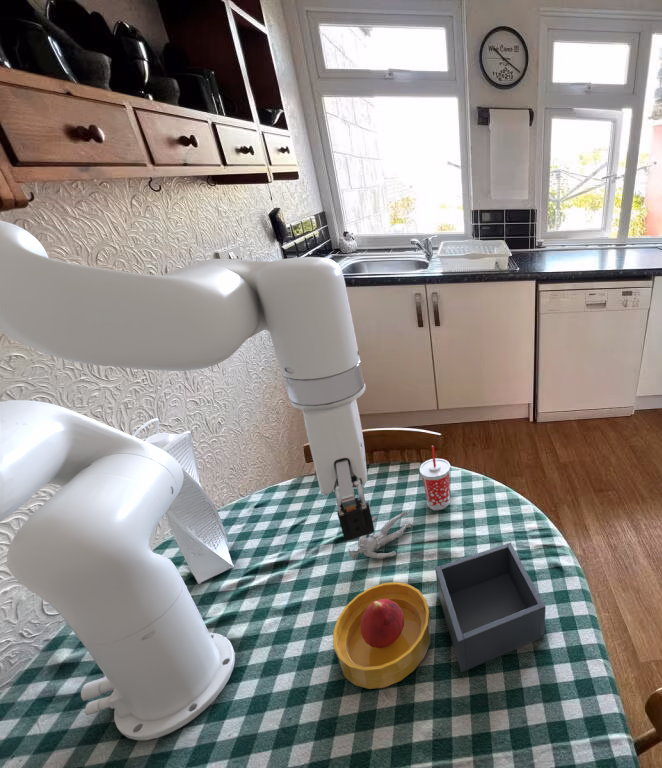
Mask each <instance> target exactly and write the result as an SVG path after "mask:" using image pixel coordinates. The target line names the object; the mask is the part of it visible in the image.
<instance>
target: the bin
mask: <svg viewBox="0 0 662 768" xmlns="http://www.w3.org/2000/svg"><path fill="white" fill-rule="evenodd" d="M434 569H435V577H436V585H437V593H438V599H439V602H440V606H441V609H442V612H443V616H444V619H445V623H446V626H447V631H448V634H449V636H450V640H451V643H452V647H453V650H454V654H455V657H456V660H457V661H456V662H457V664H458V668H459V671H460V673H464V672H466V671H469V670H471V669H473V668H475V667H478V666H480V665H483V664H485V663H488V662H489V661H492V660H495V659H496V658H499V657H501V656H503V655H506V654H508V653H510V652H513V651H515V650H517V649H520V648H522V647H524V646H526V645H529V644H532V643H534V642H536V641H538V640H541V639H542V638H545V629H546V627H545V626H546V625H545V624H546V605H545V603H544V601H543V599H542V597H541V596H540V594H539V592H538V590H537V588H536V586H535V584H534V583H533V581H532V579H531V577H530V575H529V574H528V572H527V570H526V568H525V567H524V565H523V563H522V561H521V558H520V557H519V555H518V553H517V551H516V550H515V548H514V546H513V544H512V542H508V543H505V544H502V545H498V546H496V547H493V548H489V549H487V550H482V551H480V552H477V553H474V554H471V555H468V556H465V557H462V558H459V559H456V560H453V561H450V562H448V563H444V564H442V565H438V566H436V567H435V568H434Z"/></svg>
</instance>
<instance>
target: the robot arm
mask: <svg viewBox="0 0 662 768" xmlns="http://www.w3.org/2000/svg"><path fill="white" fill-rule="evenodd" d="M263 331H267V332H268V333H269V336H270V339H271V343H272V346H273V349H274V353H275V356H276V359H277V363H278V367H279V370H280V373H281V376H282V381H283V383H284V388H285V390H286V394H287V398H288V400H289V404H290V405H291V406H292V407H293V408H295V409H297V410H302V416H303V421H304V427H305V431H306V437H307V441H308V445H309V449H310V454H311V458H312V461H313V462H312V463H313V467H314V470H315V475H316V479H317V483H318V487H319V492H320V494H322V495H323V496H328V495H329V494H333V493H334V495H335V500H336V506H337V511H336V512H337V517H338V520H339V524H340V528H341V531H342V536H343V539H344V540H345V541H351V540H354V539H359V538H360V537H361V536H364V535H368V536H369V535H370V534H372V533H375V526H374V522H373V521H372V518H373V516H372V513H371V508H370V504H369V502H368V501H367V502H366V497H365V492H364V487H363V486H364V485H365V484H366V482H368V471H367V470H368V469H367V460H366V459H367V458H366V450H365V441H364V435H363V427H362V422H361V418H360V412H359V407H358V402H357V399H359V398H360V397H361V396H362V395H363V394H364V393H365V392H366V388H367V386H366V382H365V377H364V372H363V366H362V361H361V357H360V352H359V351H360V350H359V346H358V342H357V337H356V332H355V326H354V322H353V316H352V311H351V306H350V300H349V296H348V290H347V286H346V280H345V276H344V273H343V270H342V268H341V266H340V265H339V264H338V263H337V262H336V261H334V260H333V259H331V258H327V257H320V256H301V257H299V256H298V257H290V258H282V259H276V260H272V261H270V260H269V261H265V260H248V259H236V258H210V259H204V260H201V261H198V262H196V263H193V264H190V265H186V266H183V267H180V268H178V269H175V270H171V271H169V272H167V273H164V274H162V275H157V274H156V275H155V274H144V273H138V272H130V271H123V270H116V269H109V268H104V267H95V266H90V265H84V264H80V263H73V262H69V261H64V260H59V259H54V258H52V257H49V255H48V253H47V251H46V248H44V246H43V245H42V243H41V242H40V241H39V240H38V239H37V238H36V237H35V236H34V235H33V234H32V233H31V232H29V231H27V230H26V229H25V228H23V227H21V226H20V225H17V224H14V223H12V222H8V221H6V220H5V221H4V220H0V332H1V333H3V334H4V335H5V336H7V337H8V338H10V339H12V340H14V341H15V342H18V343H19V344H22V345H25V346H27V347H29V348H32V349H35V350H37V351H39V352H41V353H44V354H46V355H49V356H51V357H54V358H57V359H61V360H65V361H69V362H72V363H73V362H74V363H79V364H84V365H85V364H86V365H92V366H102V367H112V368H124V369H133V370H134V369H135V370H145V371H159V372H187V371H195V370H203V369H207V368H210V367H212V366H216V365H219V364H220V363H222V362H225V361H226V360H228V359H229V358H230V357H232V356H233V355H234V354H235V353H236V352H237V351H238V350H239V349H240V348H241V346H242V345H244V343H245V342H247V340H248V339H250V338H252V337H254V336H255V335H258V334H260V333H261V332H263ZM48 484H52V485H56V486H59V487H61V488H59V489H58V490H57V491H56V492H55V493H54V494H52V495H51V497H50V498H48V499H47V500H46V501H45V502H44V503H42V504H41V506H40V507H38V508H37V509H36V510H35V511H34V512H33V513H32V514H31V515H30V516H29V517H28V518H27V519H26V520H25V522H24V523H22V525H21V527H19V529H18V530H17V531H16V533H15V535H14V537H13V538H12V540H11V541H10V544H9V545H8V546H9V547H8V549H7V554H6V565H7V568H8V571H9V572H10V574H11V575H12V577H14V579H15V580H16V581H17V582H18V583H20V584H21V585H22V586H24V587H25V588H27V589H28V590H29V591H31V592H32V593H34V594H35V595H36V596H38V597H40V598H41V599H42V600H44V601H45V602H46V603H47V604H48V605H50V607H52V608H53V609H54V610H55V611H56V613H58V615H60V617H61V618H62V619H63V620H64V621H65V623H66V624H67V625H68V626H69V628H70V629H71V631H72V632H73V633H74V635H75V636H76V638H77V639H78V640H79V641H80V643H81V644H82V645H83V646H84V648H85V649H86V651H87V652H88V654H89V655H90V656H91V658H92V659H93V661H94V662H95V663H96V665H97V666H98V668H99V669H100V671H102V673H103V675H104V677H100V678H98V679H95V680H91V681H89V682H86V683H84V684H83V686H82V687H81V690H80V698H81V700H82V701H83V702H86V701H88V702H87V703H86V705H85V709H84V713H85V716H90V715H94V714H96V713H100V712H102V711H103V710H106V709H108V708H110V709H111V710H114V711H113V716H114V717H113V718H114V723H115V726H116V728H117V730H118V731H119V732H120V733H121V735H122V736H125V738H127V739H131V740H134V741H150V740H153V739H159V738H161V737H163V736H166V735H169V734H171V733H173V732H175V731H177V730H178V729H181V728H182V727H184V726H186V725H187V724H189V723H190V722H192V721H193V720H194V719H196V718H197V717H198V716H200V714H202V713H203V712H204V711H205V710H206V709H208V707H209V706H210V705H211V704H212V703H213V702H214V701H215V700H216V699H217V697H218V696H219V695H220V694H221V693H222V691H223V690H224V689H225V687H226V685H227V683H228V682H229V680H230V678H231V676H232V673H233V670H234V667H235V663H236V652H235V650H234V649H235V648H234V647H233V645H232V642H231V641H230V639H228V638H227V637H226V636H224V635H222V634H220V633H217V632H216V633H215V632H210V631H209V630H208V628H207V625H206V623H205V621H204V619H203V617H202V615H201V613H200V611H199V609H198V607H197V605H196V602H195V601H194V599H193V597H192V595H191V593H190V591H189V589H188V587H187V585H186V583H185V581H184V579H183V577H182V576H181V574H180V572H179V569H178V568H177V566H176V565H175V564H174V563H173V561H172V560H171V559H170V558H169V557H166V555H164V554H160V553H157V552H154V551H152V549H151V548H150V540H151V537H152V535H153V533H154V531H155V530H156V529H157V527H158V526H159V524H160V522H161V521H162V518H163V517H164V516H165V513H166V511H167V510H168V508H169V507H170V505H171V504H172V503H173V501H174V500H175V498H176V497H177V495H178V493H179V492H180V490H181V487H182V484H183V471H182V468H181V466H180V465H179V463H178V462H177V461H176V460H175V459H174V458H173V457H172V456H171V455H170V454H168V453H167V452H165V451H164V450H162V449H160V448H158V447H156V446H154V445H152V444H150V443H148V442H145V440H143V439H141V438H138V437H137V436H135V437H134V436H133V435H132V434H130V433H126V432H125V431H122V430H119V429H117V428H115V427H113V426H110V425H108V424H105V423H103V422H100V421H98V420H96V419H93V418H91V417H89V416H86V415H84V414H81V413H80V412H77V411H75V410H72V409H69V408H67V407H63V406H61V405H58V404H55V403H49V402H44V401H39V400H29V399H13V400H12V399H11V400H10V399H9V400H4V401H0V523H1V522H3V521H4V520H5V519H7V518H8V517H10V516H11V515H13V513H15V512H16V511H17V510H18V509H20V508H21V507H22V506H23V505H24V504H25V503H27V502H28V501H29V500H30V499H31V498H32V497H33V496H35V495H36V494H37V493H38V492H39V491H41V490H42V489H44V488H45V486H46V485H48ZM355 488H356V489H357V493H358V497H356V493H355V490H354V489H355ZM110 692H111V694H110V695H108V696H105V697H101V698H98V699H94V698H97V697H100V696H103V695H105V694H107V693H110ZM92 699H94V700H92ZM89 700H92V701H89Z"/></svg>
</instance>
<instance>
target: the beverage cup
mask: <svg viewBox="0 0 662 768" xmlns="http://www.w3.org/2000/svg"><path fill="white" fill-rule="evenodd" d="M435 453H436V452H435V446H434V445H431V455H432V458H431V459H428V460H425V461H424V462H423V463H421V464H420V466H419V475H420V476H421V479H422V483H423V488H424V489H423V490H424V493H425V498H426V499H425V500H426V505H427V506H428V508H429V509H430V510H432V511H441V510H444V509H446V508H447V507H448V506H449V505H450V503H451V490H450V489H451V487H450V473H451V464H450V462H449V461H448V460H446V459H444V458H438V457H437V458H436V454H435Z"/></svg>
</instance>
